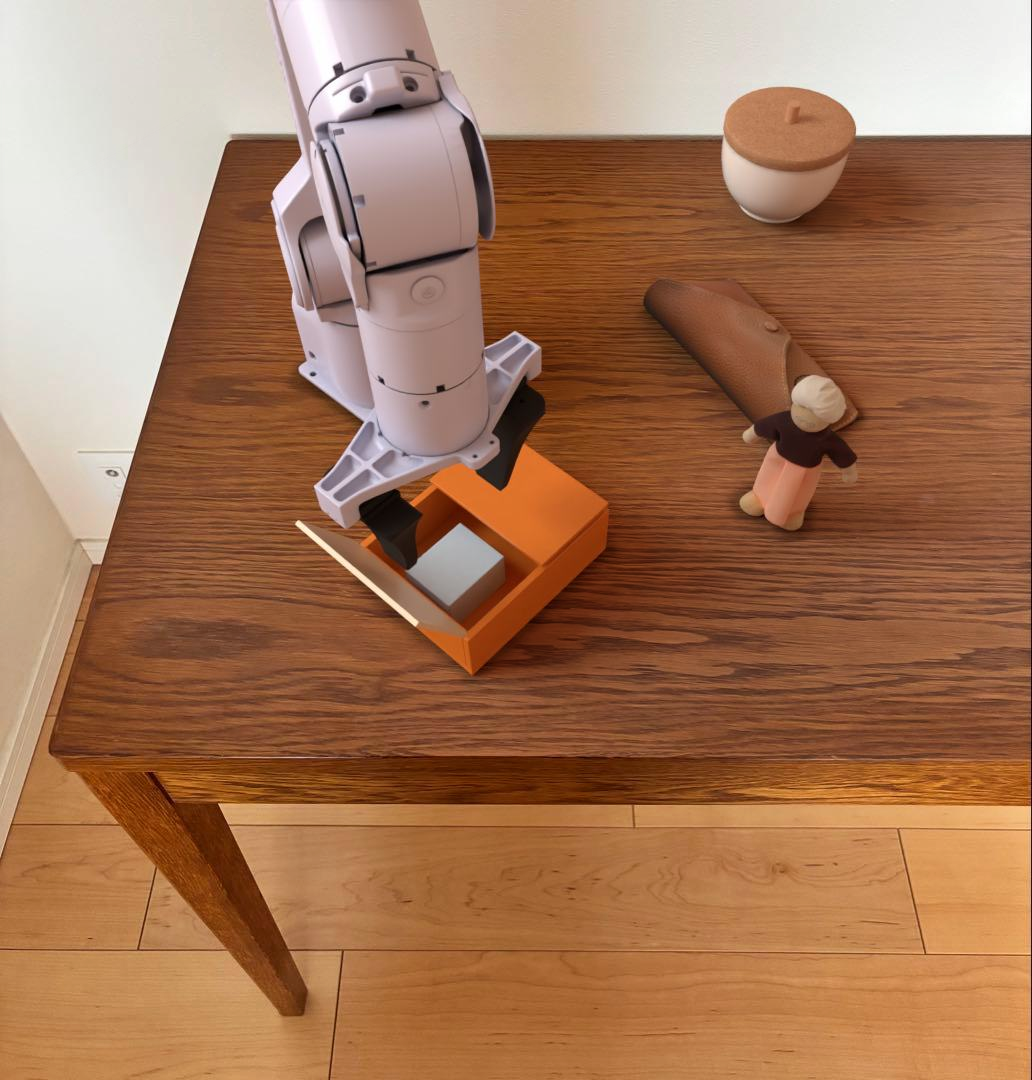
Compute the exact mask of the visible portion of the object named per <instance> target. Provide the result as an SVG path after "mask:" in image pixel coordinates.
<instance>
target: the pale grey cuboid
mask: <svg viewBox="0 0 1032 1080" xmlns="http://www.w3.org/2000/svg"><path fill="white" fill-rule="evenodd" d="M405 572H406V576H407V581H408V582H409V583H410V584H411V585H413V586H414V587H415V588H416V589H417V590H419V591H420V592H421V593H422V594H423V595H425V596H426V597H427V598H428V599H429V600H431V601H432V602H433V603H434V604H436V605H437V606H438V607H439V608H440V609H442V610H443V611H444V612H445V613H446V614H448V615H449V616H450V617H451V618H452V619H454V620H455V621H456V622H457V623H458V624H460V623H461V622H462V621H463V620H464V619H465V618H466V617H467V616H468V615H469V614H471V613H472V612H473V611H474V610H475V609H476V608H477V607H478V606H479V605H480V604H481V603H483V602H484V601H485V600H486V599H487V598H488V597H489V596H490V595H491V594H492V593H493V592H495V591H496V590H497V589H498V588H499V587H500V586H501V585H502V584H503V583H504V582H505V581H506V577H505V560H504V556H503V555H502V554H500V553H499V552H498V551H496V550H495V549H494V548H492V547H491V546H490V545H489V544H487V543H486V542H485V541H483V540H482V539H481V538H479V537H478V536H477V535H476V534H474V533H473V532H472V531H470V530H469V529H468V528H466V527H465V526H464V525H463V524H461V523H459V524H458V525H457V526H456V527H455V528H454V529H452V530H451V531H450V532H449V533H448V534H447V535H445V536H444V537H443V538H442V539H441V540H440V541H438V542H437V543H436V544H435V545H434V546H433V547H431V548H430V549H429V550H428V551H427V552H426V553H424V554H423V555H422V556H421V557H420V558H419V559H418V560H417V564H416V565H414V566H413V567H412V568H411V569H410V570H405Z"/></svg>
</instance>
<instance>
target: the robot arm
mask: <svg viewBox="0 0 1032 1080" xmlns="http://www.w3.org/2000/svg"><path fill="white" fill-rule="evenodd" d="M263 1H264V6H265V9H266V14H267V18H268V22H269V26H270V29H271V34H272V38H273V42H274V46H275V49H276V54H277V59H278V62H279V67H280V70H281V74H282V80H283V83H284V87H285V91H286V96H287V99H288V103H289V107H290V111H291V115H292V120H293V124H294V127H295V130H296V135H297V140H298V144H299V148H300V152H301V156H300V157H299V159H298V160H297V162H296V163H295V164H294V165H293V166H292V168H291V169H289V171H288V173H287V174H286V175H285V176H284V177H283V178H282V179H281V181H280V182H279V183H278V184H277V185H276V187H275V188H274V190H273V192H272V197H273V198H272V200H271V201H270V206H271V209H272V213H273V216H274V221H275V224H276V225H275V231H276V235H277V239H278V243H279V246H280V247H279V248H280V250H281V254H282V257H283V261H284V264H285V268H286V272H287V275H288V279H289V282H290V285H291V289H292V295H291V308H292V312H293V316H294V319H295V323H296V327H297V330H298V335H299V337H300V342H301V346H302V349H303V352H304V356H305V359H306V361H305V362H303V363H302V364H300V365H299V366H298V373H299V375H300V376H301V377H303V378H305V379H306V380H307V381H309V382H310V383H311V384H313V385H314V386H315V387H317V388H318V389H319V390H320V391H322V392H324V393H325V395H327V396H328V397H330V398H331V399H333V400H334V401H335V402H337V404H339V405H340V406H342V407H343V408H345V409H346V410H347V411H349V412H350V413H351V414H353V415H354V416H355V417H356V418H358V419H359V420H360V421H362V422H363V424H362V425H361V426H360V428H359V429H358V431H357V433H356V434H355V435H354V437H353V439H351V442H350V443H349V444H348V446H347V447H346V449H345V450H344V452H343V453H342V455H341V457H340V458H339V459H338V461H337V462H336V463H335V464H334V465H332V466H331V467H330V468H328V469H327V470H326V471H325V473H324V474H323V476H322V479H321V480H319V481H318V482H316V483H315V484H314V486H313V488H314V492H315V494H316V498H317V500H318V504H319V507H320V509H321V510H322V512H324V513H325V514H326V515H328V517H329V518H331V519H332V520H333V521H335V522H336V523H337V524H338V525H340V526H341V527H342V528H343V529H344V530H348V529H350V528H351V527H352V526H353V525H354V524H356V523H357V522H358V521H360V522H361V523H363V524H364V525H366V527H367V528H368V529H369V530H370V531H371V534H372V533H373V534H374V535H375V537H376V538H377V540H378V541H379V543H380V544H381V546H382V548H383V550H384V552H385V553H386V554H387V555H388V556H389V557H391V558H392V559H393V560H394V561H396V562H397V563H398V564H399V565H400V566H402V567H403V568H404V569H405V570H410V569H411V568H412V567H413V566H414V565H416V564H417V560H418V553H417V547H416V540H415V537H416V529H417V525H418V523H419V520H420V519H421V517H422V516H423V514H422V513H421V512H419V511H418V510H417V509H416V508H414V507H413V506H412V505H411V504H409V503H410V502H408V501H407V500H406V499H404V498H403V497H402V494H401V491H400V490H399V489H398V488H400V487H402V486H404V485H408V484H410V483H412V482H415V481H417V480H419V479H423V478H425V477H427V476H429V475H433V474H436V473H438V472H439V471H440V470H442V469H445V468H447V467H450V466H452V465H454V464H457V463H461V464H463V465H465V466H466V467H468V468H470V469H472V470H475V471H476V474H477V475H479V476H480V477H481V478H483V479H484V480H485V481H487V482H488V483H490V484H491V485H492V486H494V487H495V488H496V489H498V490H499V491H502V490H503V489H504V488H505V487H506V486H507V485H508V483H509V481H510V478H511V475H512V472H513V469H514V466H515V463H516V461H517V458H518V455H519V453H520V450H521V448H522V446H523V444H525V442H526V440H527V438H528V436H529V435H530V433H531V432H532V430H533V429H534V428H535V426H536V425H537V424H538V423H539V421H540V420H541V419H542V418H543V417H544V416H545V414H546V412H547V411H546V407H547V405H546V399H545V397H544V395H542V394H541V393H540V392H539V391H537V390H536V389H535V388H532V386H530V385H528V382H529V381H532V380H534V379H535V378H536V377H537V376H539V375H540V374H541V373H542V347H541V346H540V345H539V344H537V343H535V342H534V341H532V340H530V339H529V338H527V337H526V336H524V335H523V334H522V333H519V331H516V330H514V331H513V332H511V333H510V334H508V335H507V336H505V337H504V338H502V339H500V340H499V341H496V342H494V343H492V344H490V345H487V346H485V334H484V320H483V306H482V290H481V289H482V287H481V275H480V260H479V245H478V244H479V243H478V239H479V235H480V236H481V238H482V239H483V240H484V241H487V242H490V241H492V240H493V238H494V236H495V232H496V223H497V219H496V218H497V217H496V215H497V213H496V202H495V201H496V200H495V192H494V182H493V176H492V171H491V170H492V169H491V165H490V161H489V157H488V152H487V149H486V146H485V143H484V140H483V136H482V133H481V132H482V131H481V130H480V126H479V123H478V120H477V117H476V116H475V112H474V110H473V109H472V106H471V105H470V103H469V100H468V99H467V97H466V96H465V95H464V94H463V93H462V92H461V90H460V89H459V86H458V84H457V81H456V78H455V74H453V73H452V70H450V69H447V70H443V71H442V70H441V68H440V65H439V61H438V59H437V55H436V51H435V49H434V45H433V42H432V39H431V36H430V33H429V29H428V26H427V23H426V20H425V17H424V14H423V10H422V8H421V7H422V6H421V4H420V1H419V0H263Z"/></svg>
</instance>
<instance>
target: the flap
mask: <svg viewBox="0 0 1032 1080" xmlns="http://www.w3.org/2000/svg"><path fill="white" fill-rule="evenodd" d="M294 525H295V526H296V527H297V528H298V529H299V530H300V531H302V532H303V533H304V534H305V535H306V536H308V537H309V538H310V539H311V540H312V541H314V542H315V543H316V544H317V545H318V546H320V547H321V548H322V549H323V551H325V552H326V553H328V554H329V555H330V557H332V558H333V559H335V561H337V562H338V563H339V564H341V566H343V567H344V568H345V569H346V570H348V571H349V572H350V573H351V574H352V575H354V576H355V577H356V578H357V579H358V580H360V582H362V583H363V584H364V585H365V586H366V587H368V589H370V590H371V591H372V592H373V593H375V594H376V595H377V596H378V597H379V598H381V600H383V601H384V602H385V603H386V604H388V606H390V607H391V608H392V609H394V610H395V611H396V612H397V613H398V614H399V615H400V616H402V618H404V619H405V620H406V621H408V622H409V623H410V624H411V625H412V626H413V627H415V628H416V627H418V628H422V629H427V630H431V631H436V632H440V633H444V634H449V635H453V636H457V637H462V638H465V637H466V635H467V633H466V632H465V631H464V630H463V629H462V628H460V627H459V626H458V625H457V624H456V623H454V622H453V621H452V620H451V619H450V618H448V617H447V616H446V615H445V614H444V613H442V612H441V611H440V610H439V609H438V608H436V607H435V606H434V605H433V604H432V603H430V602H429V601H428V600H427V599H425V598H424V597H423V596H422V595H421V594H419V593H418V592H417V591H416V590H415V589H413V588H412V587H411V586H410V585H409V584H407V583H406V582H405V581H404V580H403V579H401V578H400V577H399V576H398V575H397V574H395V573H394V572H393V571H392V570H390V569H389V568H388V567H387V566H386V565H384V564H383V563H382V562H381V561H380V560H378V559H377V558H376V557H375V556H374V555H372V554H371V553H370V552H369V551H368V550H366V549H365V548H364V547H363V546H362V545H360V543H359V542H358V541H357V540H356V539H353V538H350V537H347V536H345V535H341V534H339V533H336V532H333V531H331V530H328V529H325V528H322V527H320V526H317V525H314V524H311V523H309V522H306V521H304V520H300V519H298V520H297V521H296V522H295V524H294Z"/></svg>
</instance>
